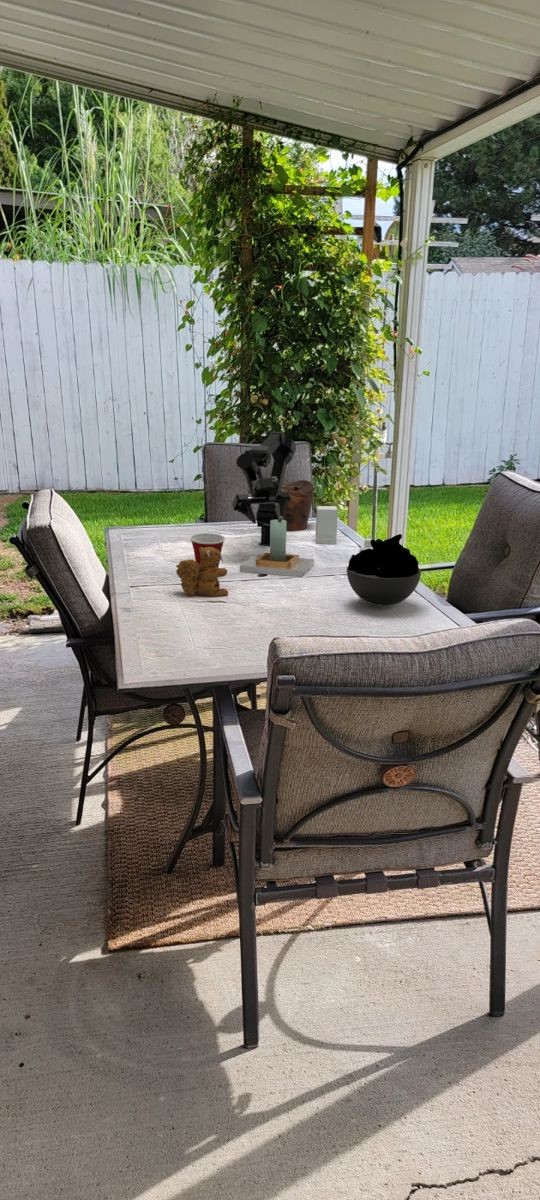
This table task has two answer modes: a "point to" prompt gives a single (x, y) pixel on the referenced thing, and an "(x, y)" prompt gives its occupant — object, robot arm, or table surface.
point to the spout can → (278, 540)
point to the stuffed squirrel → (202, 574)
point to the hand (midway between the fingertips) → (268, 522)
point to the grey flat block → (277, 565)
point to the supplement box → (326, 524)
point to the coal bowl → (384, 572)
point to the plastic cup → (206, 543)
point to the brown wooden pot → (298, 504)
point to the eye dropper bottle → (366, 544)
